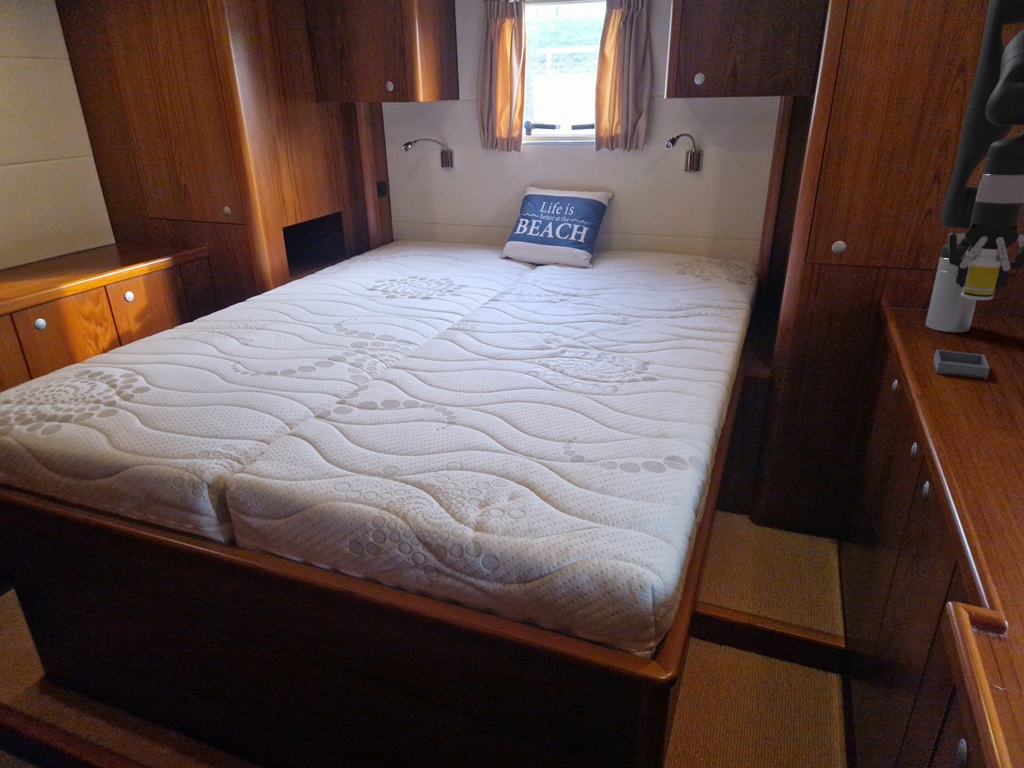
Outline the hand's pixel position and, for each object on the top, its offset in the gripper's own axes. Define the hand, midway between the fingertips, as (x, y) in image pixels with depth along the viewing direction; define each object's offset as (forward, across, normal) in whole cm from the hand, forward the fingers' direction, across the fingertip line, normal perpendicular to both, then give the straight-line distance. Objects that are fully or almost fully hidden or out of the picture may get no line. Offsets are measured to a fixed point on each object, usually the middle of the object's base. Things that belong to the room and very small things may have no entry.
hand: (978, 287), depth 130 cm
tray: (+17, 0, 0) cm, 17 cm away
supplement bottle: (+2, 0, 0) cm, 2 cm away
